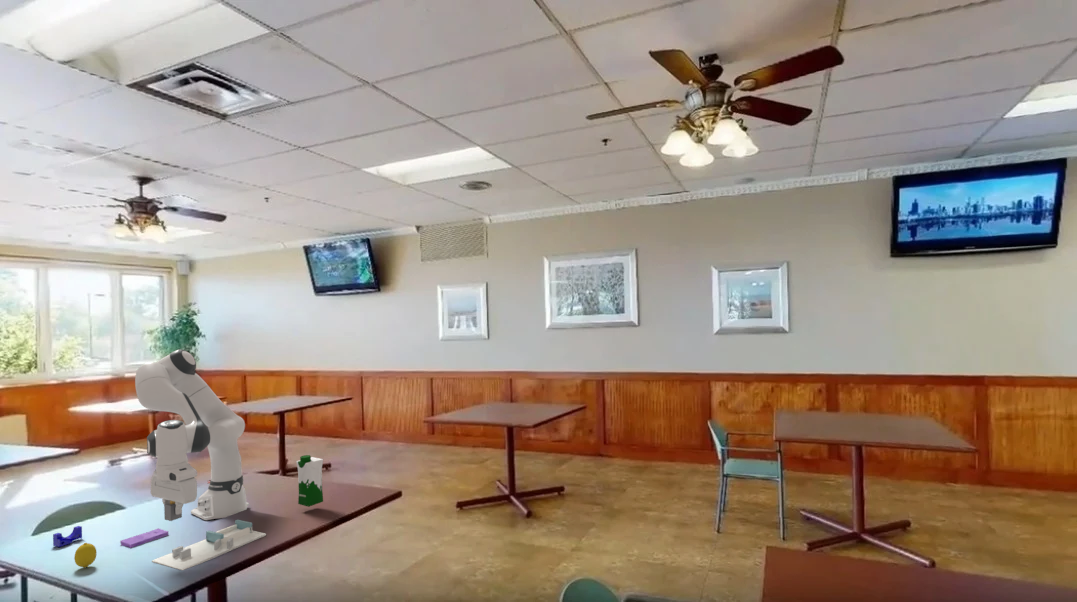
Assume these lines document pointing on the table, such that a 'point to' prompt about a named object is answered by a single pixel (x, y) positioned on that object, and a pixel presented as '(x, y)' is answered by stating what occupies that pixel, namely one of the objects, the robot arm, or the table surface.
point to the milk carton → (310, 480)
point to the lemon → (85, 555)
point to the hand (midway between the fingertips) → (173, 512)
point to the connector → (171, 511)
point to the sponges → (143, 538)
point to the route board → (203, 551)
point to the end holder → (230, 532)
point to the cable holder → (61, 541)
